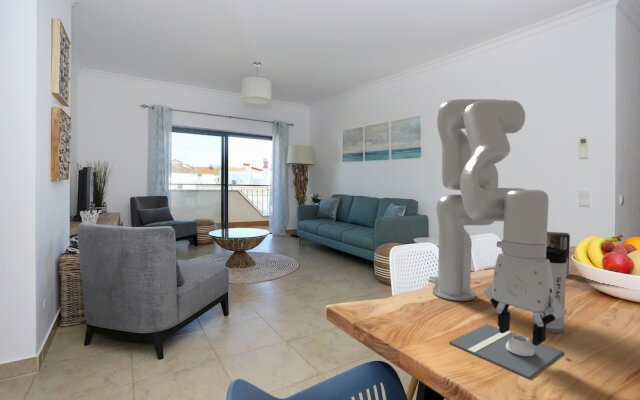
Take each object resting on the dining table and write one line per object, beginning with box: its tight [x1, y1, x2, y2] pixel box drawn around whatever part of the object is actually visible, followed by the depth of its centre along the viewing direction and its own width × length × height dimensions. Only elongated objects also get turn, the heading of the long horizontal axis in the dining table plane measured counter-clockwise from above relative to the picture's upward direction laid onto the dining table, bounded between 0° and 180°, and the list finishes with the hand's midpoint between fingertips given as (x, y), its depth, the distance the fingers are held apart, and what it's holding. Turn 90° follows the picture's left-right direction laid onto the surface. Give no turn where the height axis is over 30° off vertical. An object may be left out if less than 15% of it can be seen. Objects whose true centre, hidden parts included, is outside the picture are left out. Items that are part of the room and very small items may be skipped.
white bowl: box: [506, 334, 534, 356], centre depth 68 cm, size 5×3×5 cm
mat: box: [448, 323, 564, 380], centre depth 71 cm, size 16×16×1 cm
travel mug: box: [532, 246, 567, 334], centre depth 80 cm, size 6×7×20 cm
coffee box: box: [546, 231, 571, 277], centre depth 130 cm, size 9×6×16 cm
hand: (520, 336), depth 68 cm, fingers open, 5 cm apart
